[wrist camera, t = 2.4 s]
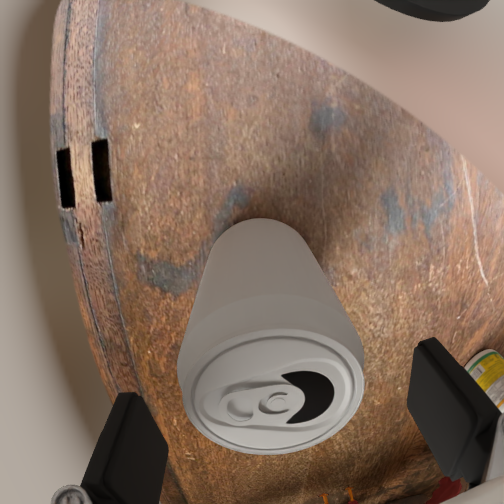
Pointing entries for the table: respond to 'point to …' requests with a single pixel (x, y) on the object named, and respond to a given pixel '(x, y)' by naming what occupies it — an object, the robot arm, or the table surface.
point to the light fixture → (412, 500)
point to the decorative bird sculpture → (439, 495)
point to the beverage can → (268, 345)
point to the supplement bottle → (489, 375)
